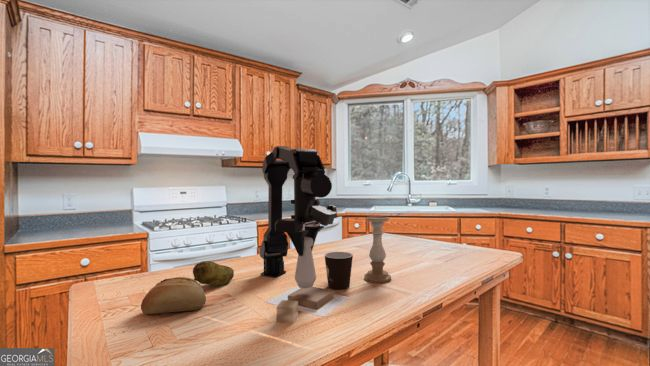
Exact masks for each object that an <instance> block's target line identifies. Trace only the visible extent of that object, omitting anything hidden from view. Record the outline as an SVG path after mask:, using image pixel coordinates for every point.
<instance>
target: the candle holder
mask: <svg viewBox="0 0 650 366" xmlns="http://www.w3.org/2000/svg"><path fill="white" fill-rule="evenodd" d="M365 221H366V222H368V223H369V222H370V225H371V226H372V231H371V234H372V236H373V237H372V246H371V247H370V250H369V255H368V256H369V259H370V260H371V262H370V263H369V265H371V267H372V268H371V270H368V271H367V272H366V273H365V274H364V277H363V278H364V280H366V281H367V282H370V283H375V284H376V283H379V284H382V283H389V282H390V281H391V280H392V276H391V274H389V272H387V271H386V270H384V266H385V264H386V262H384V261H385V259H386V257H387V253H386V250H385V248H384V246H383V240H382V235H384V232H383V231H382V229H383V226H384V225H385V223H386V222H389V221H390V219H389V217H387V216H376V215H375V216H367V217H365Z"/></svg>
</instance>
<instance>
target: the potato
mask: <svg viewBox="0 0 650 366" xmlns="http://www.w3.org/2000/svg"><path fill="white" fill-rule="evenodd" d="M234 272H235V271H234V269H233V268H232V267H230V266H227V265H223V264H218V263H216V262H214V261H211V260H204V261H200V262H198V263H196V264H194V267H193V268H192V274H193V278H194V279H193V280H195V281H197V283H199V284H200V285H210V286H215V287H218V286H223V285H225V284H228V283H229V282H230V281H231V280H233V279H234V276H235V275H234V274H235V273H234Z"/></svg>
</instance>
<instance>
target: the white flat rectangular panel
mask: <svg viewBox="0 0 650 366" xmlns="http://www.w3.org/2000/svg"><path fill="white" fill-rule="evenodd" d="M299 289H301V288H299V286H293V287H292V288H290V289H289V290H286V291H285V292H283V293H281V294H279V295H277V296H275V297H273V298H271V299H269V300H267V301H265V302H264V303H266V304H269V305H273V306H276V307H277V306H278V304H279V303H280V302H281V301H282V300H288V295H290V294H291V293H293V292H295V291H297V290H299ZM349 298H350V297H349V296H345V295H340V294H335V293H334V298H333V299H331V300H330V301H329V302H327V303H326V304H324V305H323V306H322V307H320V308H319V309H317V310H316V309H311V308H307V307H303V306H298V312H299V311H300V312H302V313H307V314H311V315H314V316H315V315H316V316H319V317H326V316H327V315H328V314H330V313H331V312H332V311H334V310H335V309H336V308H337V307H338V306H340V305H341V304H342V303H344V302H345V301H346V300H348V299H349Z"/></svg>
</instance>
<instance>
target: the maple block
mask: <svg viewBox="0 0 650 366" xmlns="http://www.w3.org/2000/svg"><path fill="white" fill-rule="evenodd" d="M298 317H299V311H298V301H289V300H282V301H281V302H280V303H279V304H278V306H277V305H276V323H287V324H294V323H295V322H296V320H297V318H298Z"/></svg>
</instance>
